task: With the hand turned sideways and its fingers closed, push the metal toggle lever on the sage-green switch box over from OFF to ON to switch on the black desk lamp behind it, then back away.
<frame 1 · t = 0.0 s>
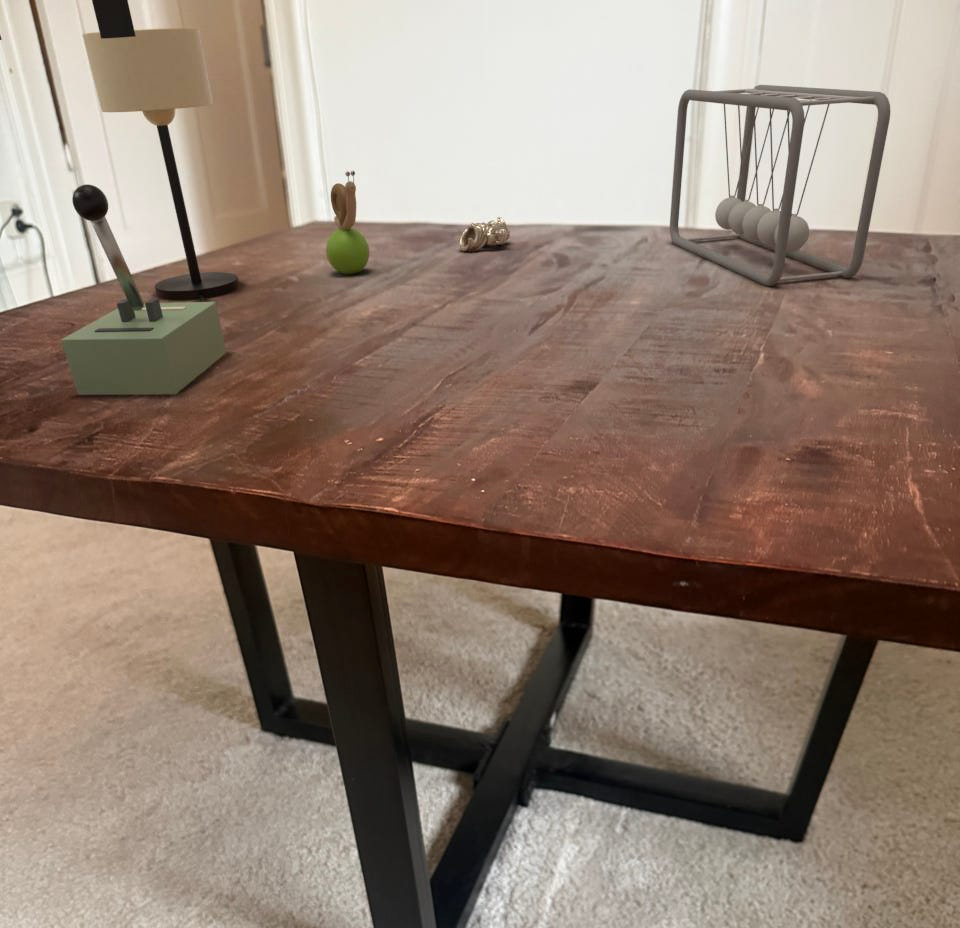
hand: (56, 40, 62), 25 cm above the table, tool pointing down, fingers open, 13 cm apart
snail figurine: (352, 276, 112), on the table
toggle lever: (102, 229, 71), point 13 cm above the table, hinge at -20.0°
ornament: (488, 250, 121), on the table
switch box: (157, 375, 80), on the table
desk lamp: (198, 291, 108), on the table
newton's cradle: (753, 262, 107), on the table
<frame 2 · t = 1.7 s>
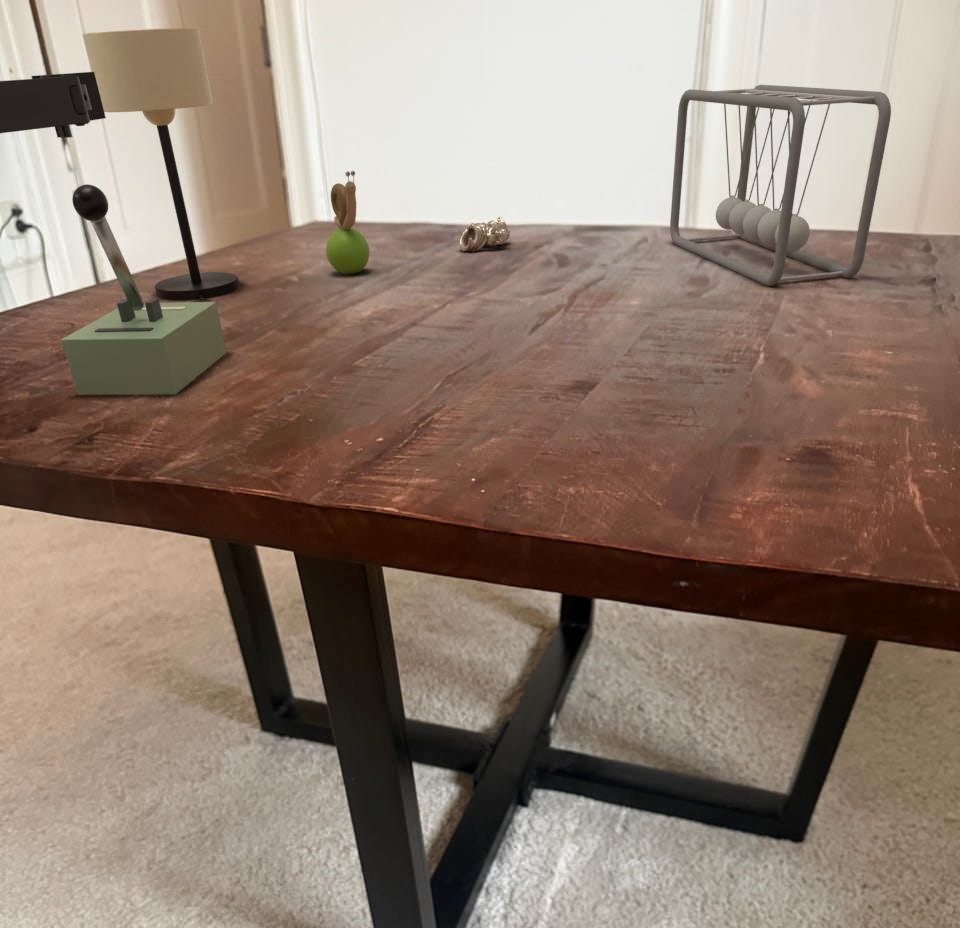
hand: (20, 99, 60), 22 cm above the table, tool horizontal, fingers open, 10 cm apart
nothing on the table moved.
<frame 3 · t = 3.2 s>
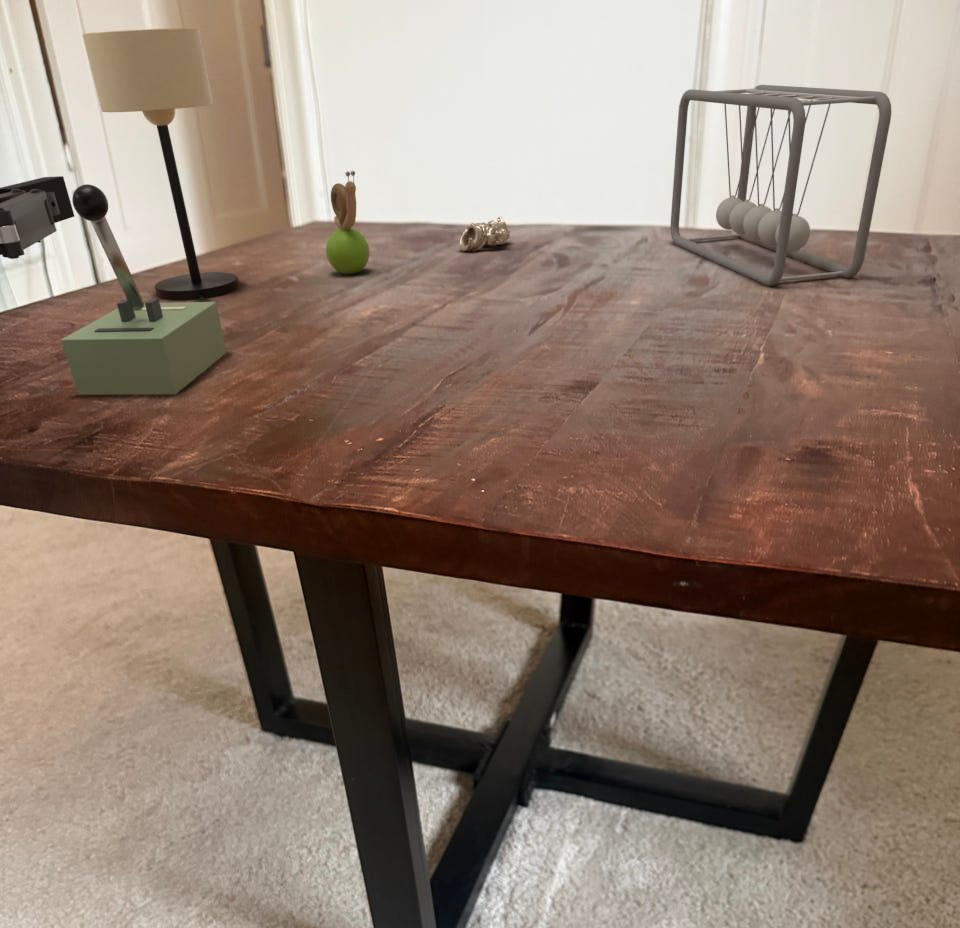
hand: (59, 197, 65), 16 cm above the table, tool horizontal, fingers closed
nothing on the table moved.
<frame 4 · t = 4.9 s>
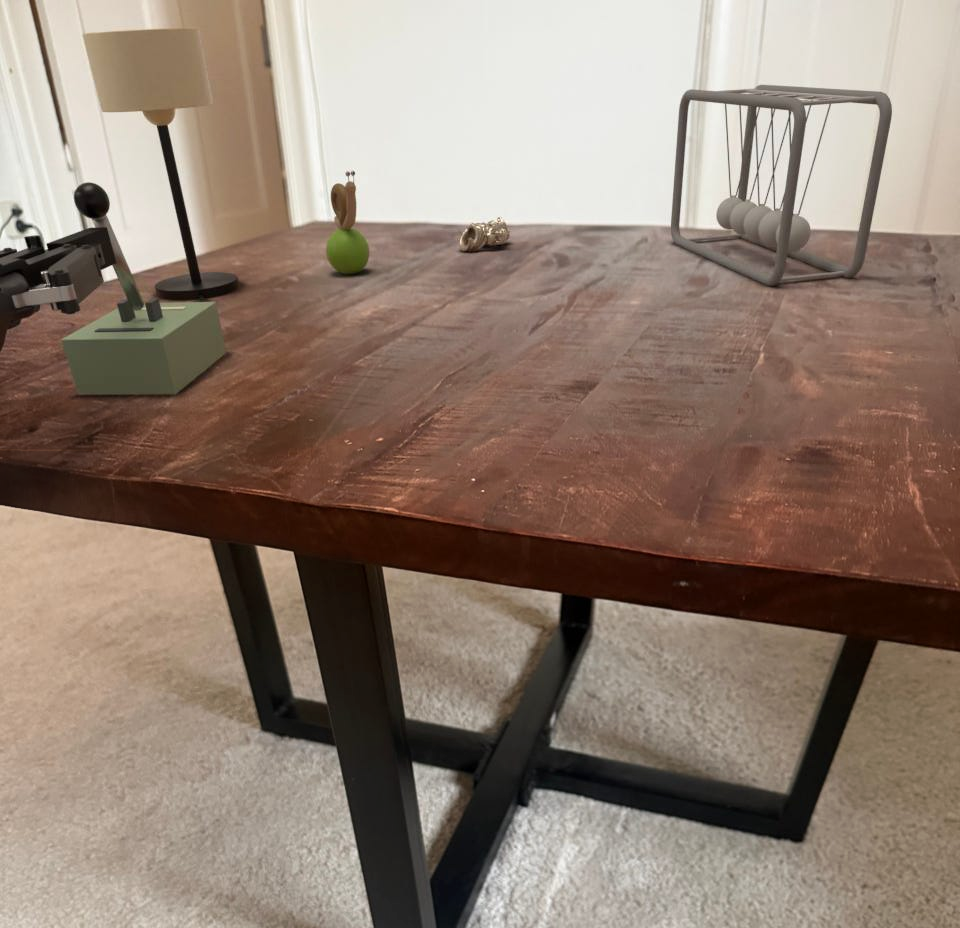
hand: (103, 245, 71), 12 cm above the table, tool horizontal, fingers closed
toggle lever: (103, 228, 71), point 13 cm above the table, hinge at -18.1°, touching gripper
everything else where it was.
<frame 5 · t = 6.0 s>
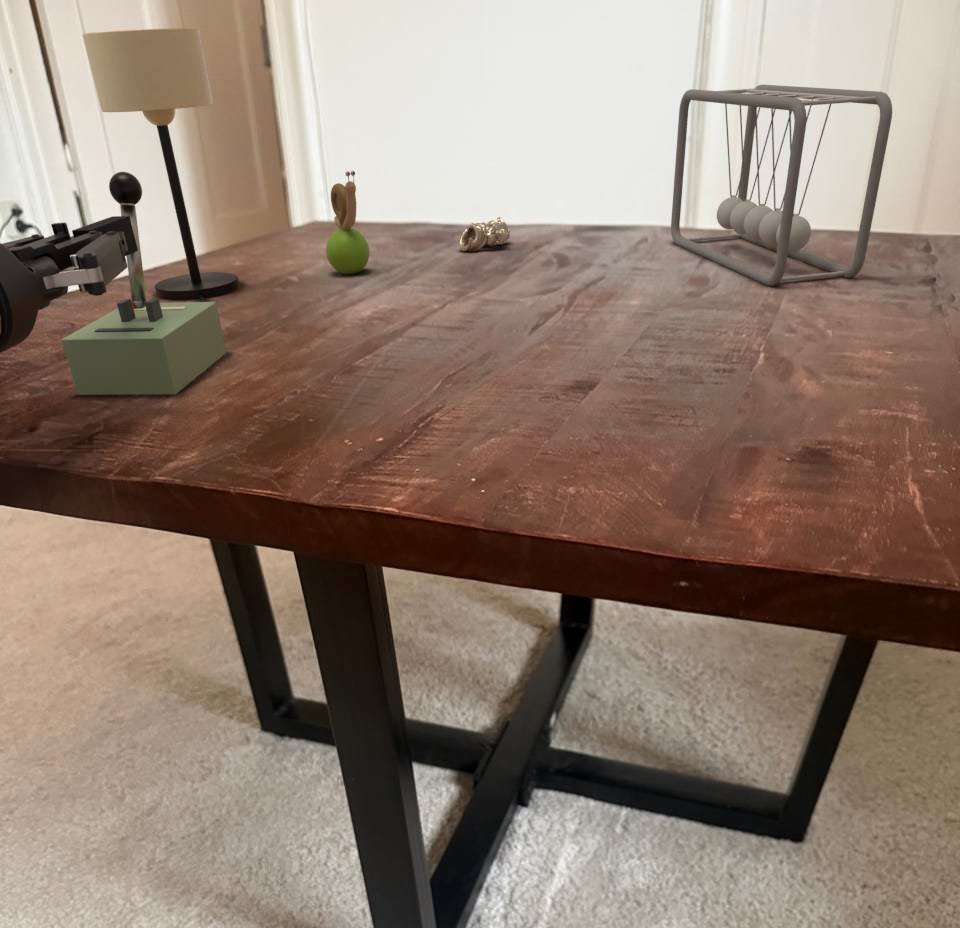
hand: (125, 233, 74), 12 cm above the table, tool horizontal, fingers closed
toggle lever: (129, 217, 74), point 13 cm above the table, hinge at 16.9°, touching gripper
everything else where it was.
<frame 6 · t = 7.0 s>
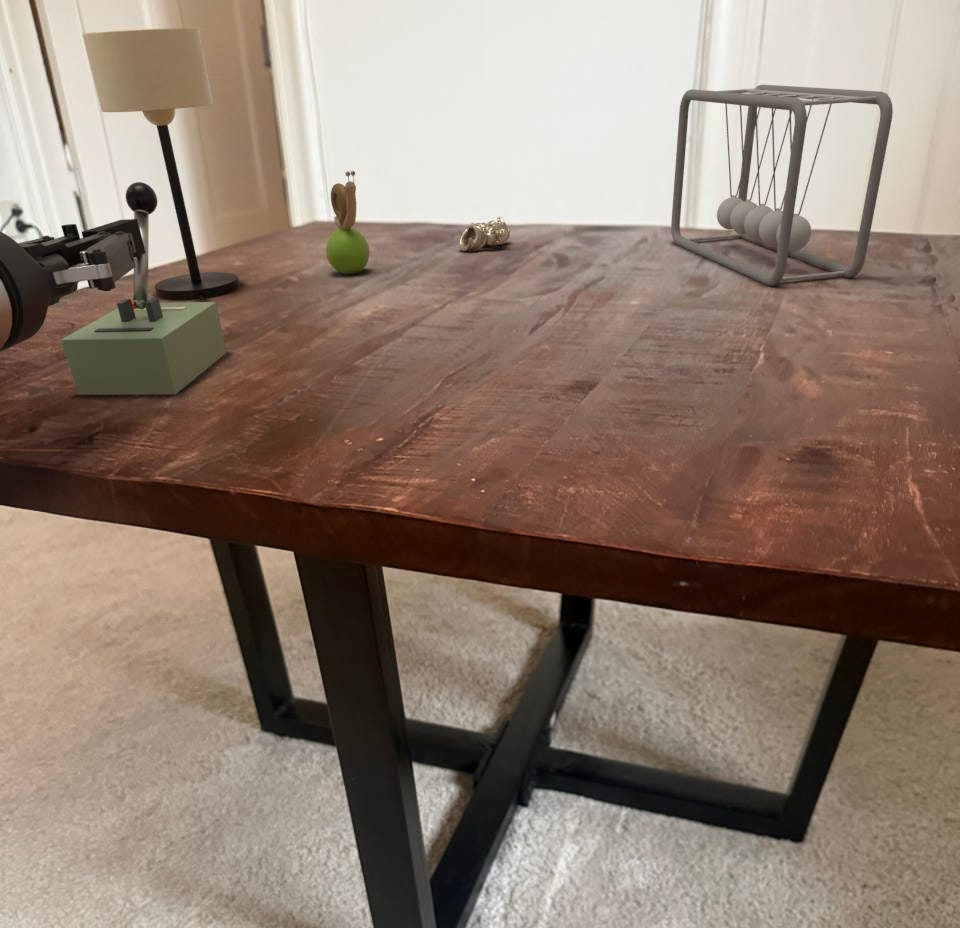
hand: (133, 236, 75), 11 cm above the table, tool horizontal, fingers closed
toggle lever: (141, 224, 76), point 12 cm above the table, hinge at 32.0°, touching gripper
everything else where it was.
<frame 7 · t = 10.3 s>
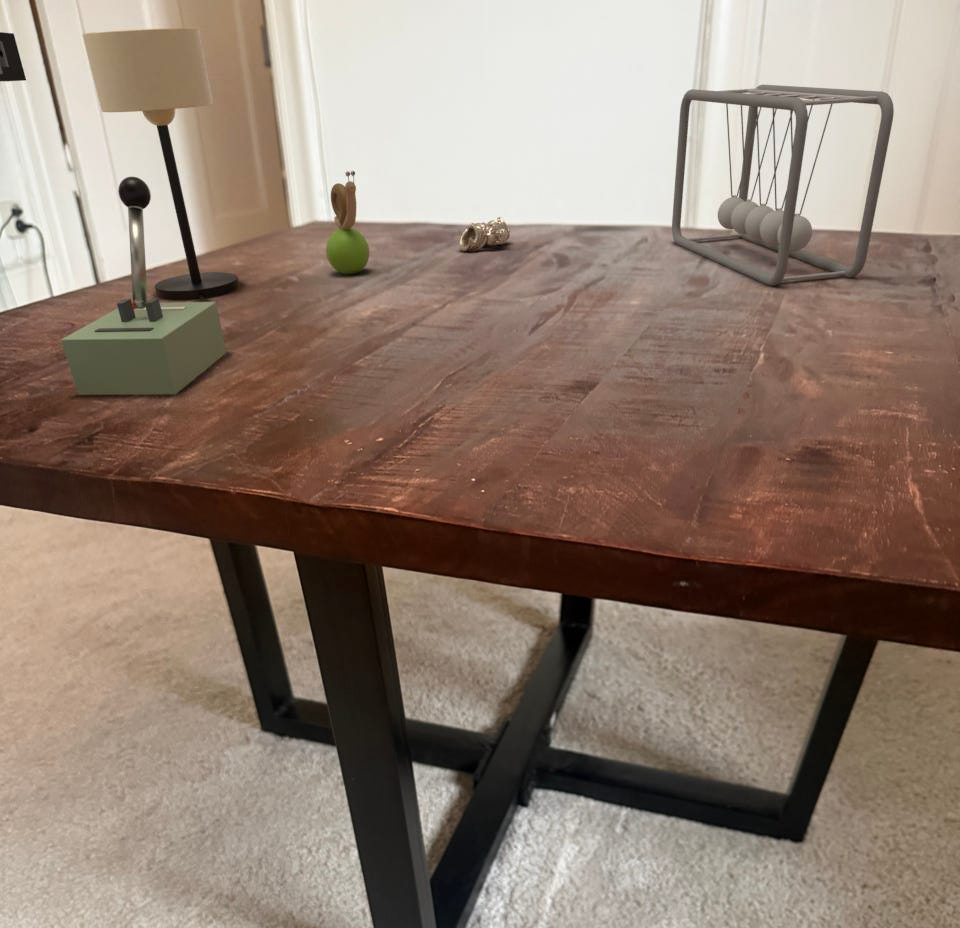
hand: (9, 57, 60), 24 cm above the table, tool horizontal, fingers closed
toggle lever: (136, 220, 75), point 12 cm above the table, hinge at 25.3°
everything else where it was.
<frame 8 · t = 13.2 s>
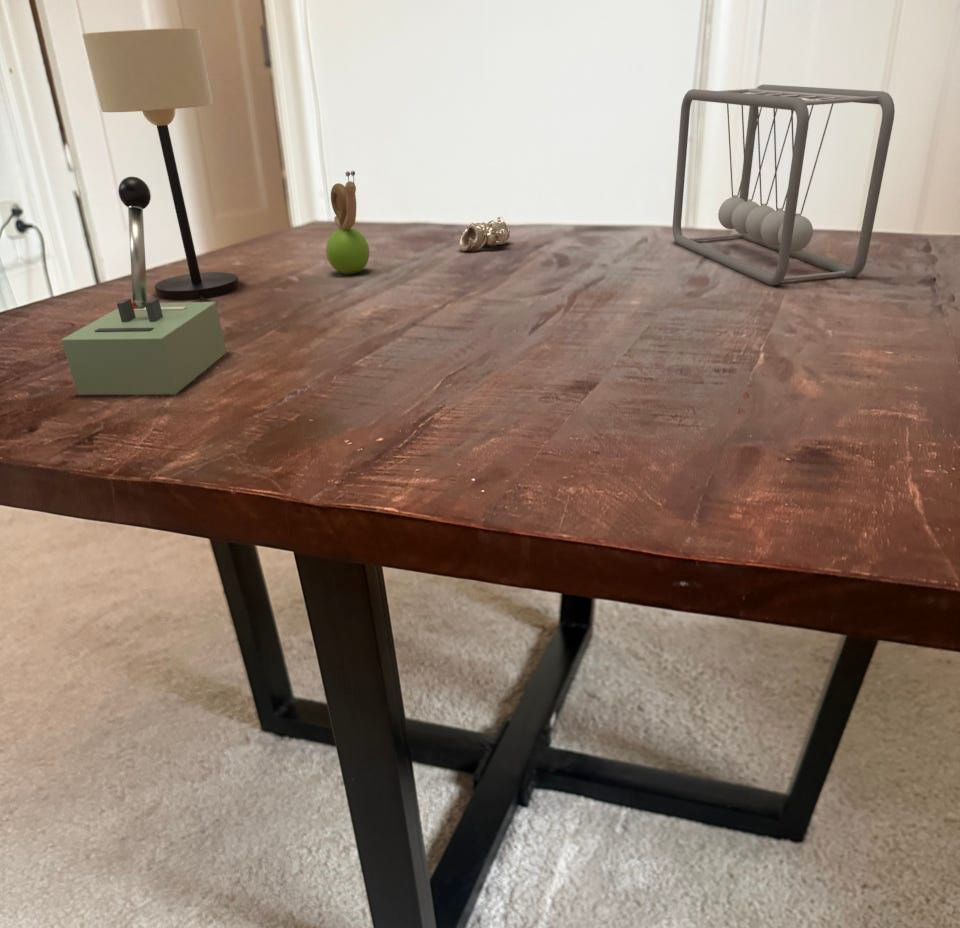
nothing on the table moved.
at the end: toggle lever at +25° (first picture: -20°); toggle lever 36.5 cm from the desk lamp (horizontally) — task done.
